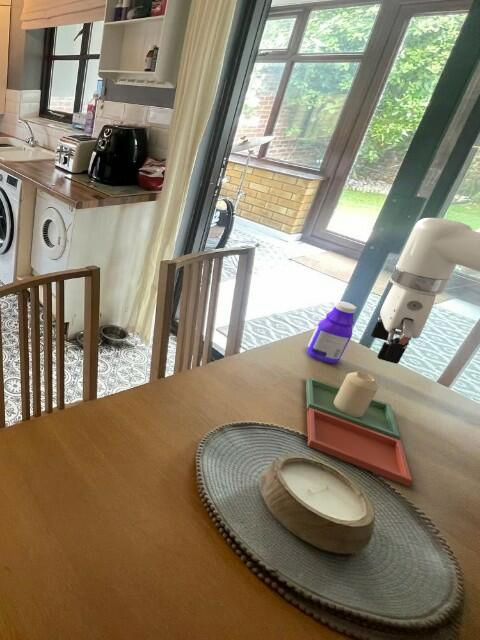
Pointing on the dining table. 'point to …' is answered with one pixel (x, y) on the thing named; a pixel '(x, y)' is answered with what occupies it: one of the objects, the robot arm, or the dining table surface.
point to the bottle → (332, 333)
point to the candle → (356, 394)
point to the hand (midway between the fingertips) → (383, 349)
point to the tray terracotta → (358, 446)
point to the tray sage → (373, 418)
